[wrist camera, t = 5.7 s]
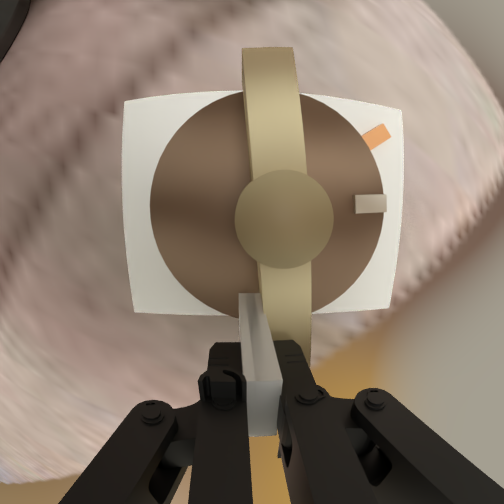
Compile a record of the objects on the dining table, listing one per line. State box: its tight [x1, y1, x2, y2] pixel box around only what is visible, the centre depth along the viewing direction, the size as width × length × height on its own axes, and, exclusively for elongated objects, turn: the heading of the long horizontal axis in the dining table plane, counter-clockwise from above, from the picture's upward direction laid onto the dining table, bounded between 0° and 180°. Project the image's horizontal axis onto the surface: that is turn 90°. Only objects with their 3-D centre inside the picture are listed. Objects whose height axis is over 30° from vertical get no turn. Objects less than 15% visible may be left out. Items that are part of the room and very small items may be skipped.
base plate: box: [122, 91, 404, 316], centre depth 16 cm, size 14×18×2 cm
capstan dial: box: [150, 47, 387, 367], centre depth 13 cm, size 14×13×6 cm
